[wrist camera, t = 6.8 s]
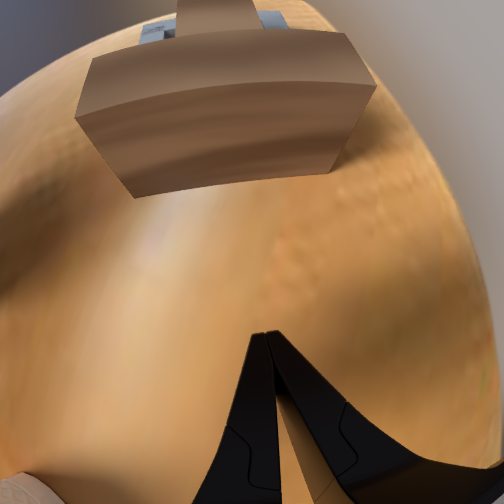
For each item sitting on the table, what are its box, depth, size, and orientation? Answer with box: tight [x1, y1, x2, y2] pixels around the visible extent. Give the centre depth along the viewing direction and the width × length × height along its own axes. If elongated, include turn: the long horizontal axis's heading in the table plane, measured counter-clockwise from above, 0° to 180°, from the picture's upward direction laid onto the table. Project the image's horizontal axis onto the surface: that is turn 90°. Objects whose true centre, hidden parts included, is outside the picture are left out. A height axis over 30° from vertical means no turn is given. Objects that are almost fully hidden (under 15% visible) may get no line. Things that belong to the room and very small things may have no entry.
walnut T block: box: [75, 0, 377, 198], centre depth 14 cm, size 12×12×8 cm
